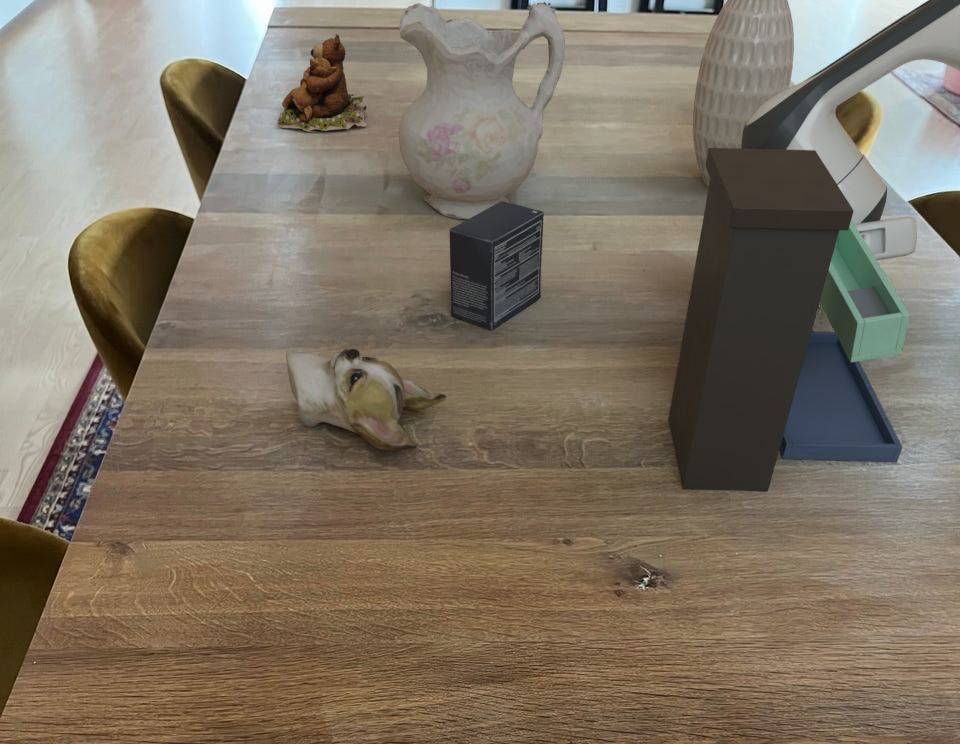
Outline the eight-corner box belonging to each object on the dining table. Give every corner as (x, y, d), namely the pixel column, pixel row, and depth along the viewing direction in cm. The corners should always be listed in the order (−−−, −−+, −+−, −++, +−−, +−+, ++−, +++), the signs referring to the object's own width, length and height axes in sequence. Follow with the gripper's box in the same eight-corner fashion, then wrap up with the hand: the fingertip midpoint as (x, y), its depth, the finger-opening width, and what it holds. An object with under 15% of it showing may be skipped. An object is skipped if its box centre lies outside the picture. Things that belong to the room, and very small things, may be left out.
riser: (750, 419, 100) (815, 150, 82) (774, 494, 91) (854, 210, 72) (662, 416, 100) (708, 147, 82) (678, 492, 91) (733, 207, 73)
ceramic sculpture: (307, 310, 96) (451, 341, 94) (312, 386, 103) (447, 417, 100) (260, 362, 89) (415, 397, 87) (269, 441, 96) (413, 476, 93)
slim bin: (840, 249, 97) (846, 211, 94) (901, 355, 85) (910, 314, 82) (795, 257, 97) (800, 218, 94) (850, 362, 86) (857, 323, 82)
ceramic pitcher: (526, 181, 149) (529, -13, 133) (575, 220, 135) (585, 7, 119) (389, 197, 144) (374, -3, 128) (425, 239, 130) (414, 20, 114)
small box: (498, 284, 121) (501, 197, 114) (542, 298, 119) (547, 211, 111) (447, 315, 115) (446, 226, 108) (492, 331, 112) (494, 241, 105)
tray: (840, 345, 111) (844, 331, 110) (897, 462, 95) (902, 447, 94) (742, 343, 111) (745, 329, 110) (782, 459, 95) (786, 444, 94)
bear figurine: (279, 108, 169) (270, 27, 160) (366, 106, 170) (361, 26, 161) (276, 134, 159) (266, 49, 151) (368, 132, 160) (363, 48, 152)
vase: (785, 189, 145) (836, -38, 126) (723, 206, 140) (767, -27, 120) (725, 163, 153) (764, -55, 133) (664, 179, 148) (696, -45, 128)
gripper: (888, 267, 106) (943, 267, 93) (700, 297, 107) (727, 301, 94) (888, 205, 104) (944, 195, 91) (696, 236, 105) (723, 231, 92)
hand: (832, 249), depth 93 cm, fingers closed on slim bin, 4 cm apart
